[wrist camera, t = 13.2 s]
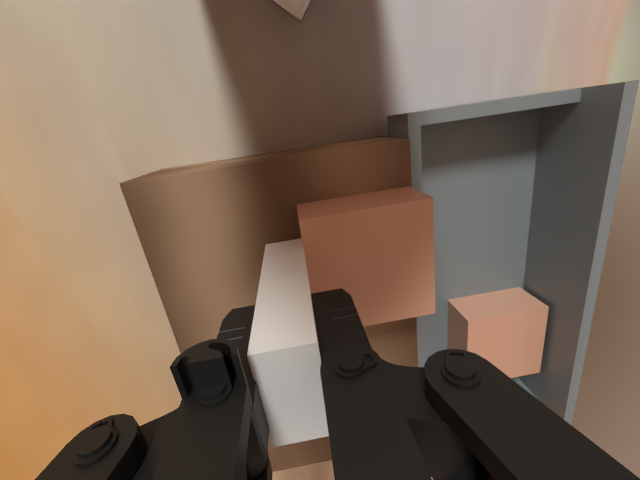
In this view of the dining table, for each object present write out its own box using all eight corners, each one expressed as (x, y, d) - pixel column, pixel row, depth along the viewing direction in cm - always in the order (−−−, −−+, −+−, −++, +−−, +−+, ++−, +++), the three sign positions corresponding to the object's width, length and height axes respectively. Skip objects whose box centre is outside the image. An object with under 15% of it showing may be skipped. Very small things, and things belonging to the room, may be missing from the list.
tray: (403, 394, 24) (432, 459, 19) (387, 115, 17) (426, 111, 12) (516, 372, 24) (570, 430, 20) (544, 92, 18) (638, 80, 13)
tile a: (540, 372, 20) (513, 347, 23) (548, 306, 19) (519, 286, 21) (466, 386, 20) (447, 359, 23) (468, 321, 18) (447, 299, 21)
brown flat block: (237, 416, 23) (226, 480, 19) (160, 169, 17) (119, 183, 13) (396, 385, 24) (420, 441, 19) (379, 136, 17) (410, 139, 13)
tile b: (313, 303, 15) (318, 334, 13) (296, 204, 14) (298, 220, 11) (413, 285, 16) (435, 313, 13) (408, 186, 14) (433, 197, 12)
